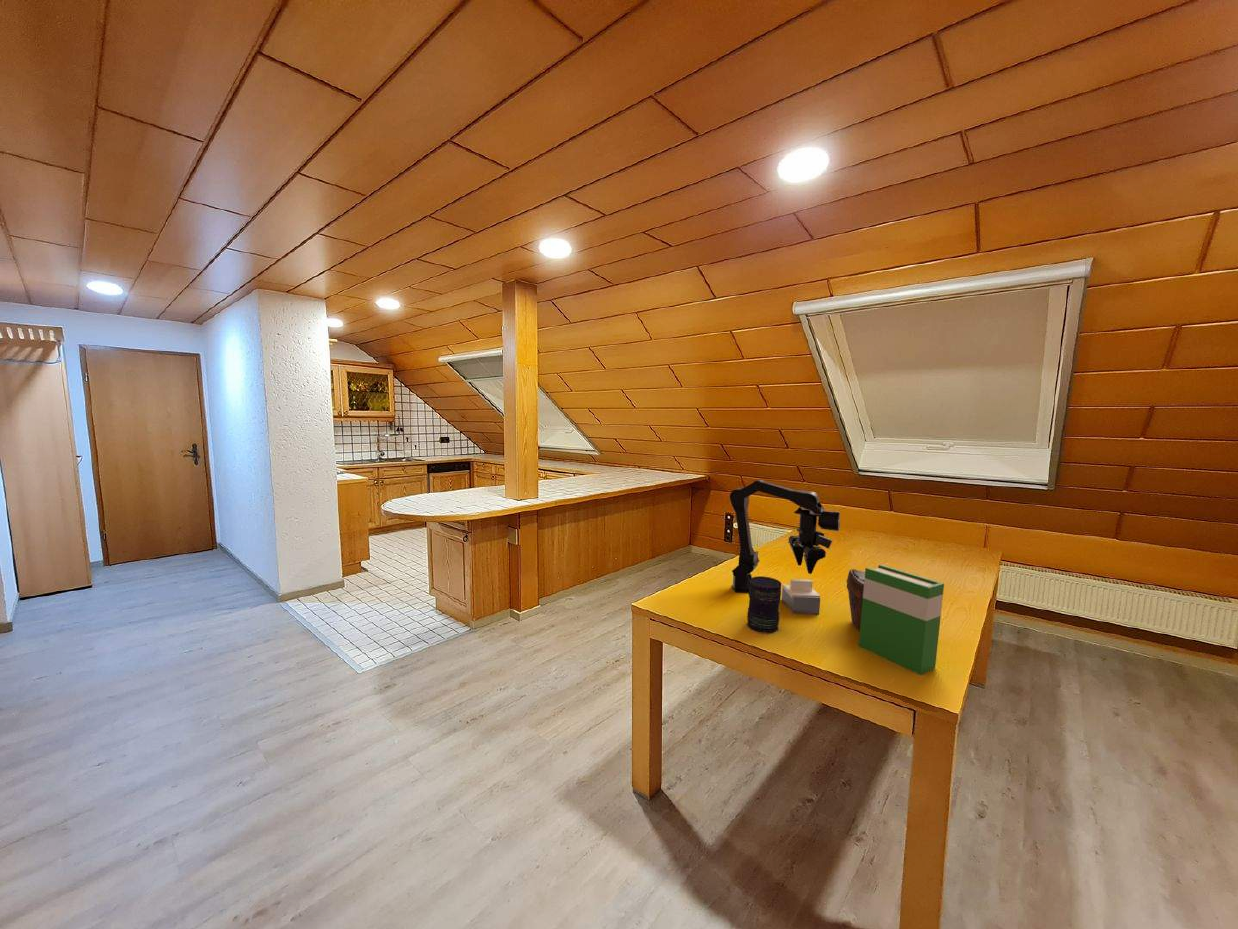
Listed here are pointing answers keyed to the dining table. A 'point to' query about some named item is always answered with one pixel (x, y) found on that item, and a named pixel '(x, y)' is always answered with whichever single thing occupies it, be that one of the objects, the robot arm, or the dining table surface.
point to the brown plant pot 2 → (856, 595)
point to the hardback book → (901, 617)
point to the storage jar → (764, 604)
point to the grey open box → (801, 603)
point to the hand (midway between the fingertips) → (804, 569)
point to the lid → (800, 588)
